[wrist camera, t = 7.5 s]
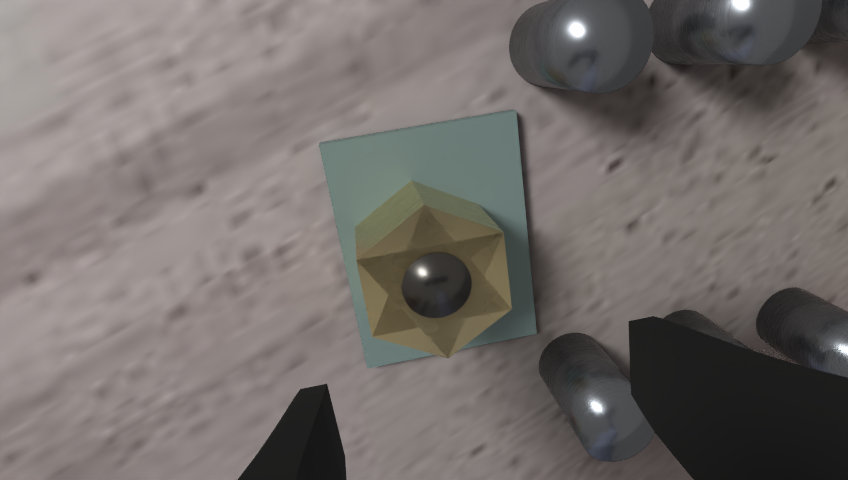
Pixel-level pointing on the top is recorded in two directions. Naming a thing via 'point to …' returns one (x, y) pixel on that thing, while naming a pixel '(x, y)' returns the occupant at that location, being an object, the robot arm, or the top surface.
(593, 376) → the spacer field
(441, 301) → the brass nut
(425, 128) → the green mat
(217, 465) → the top surface
